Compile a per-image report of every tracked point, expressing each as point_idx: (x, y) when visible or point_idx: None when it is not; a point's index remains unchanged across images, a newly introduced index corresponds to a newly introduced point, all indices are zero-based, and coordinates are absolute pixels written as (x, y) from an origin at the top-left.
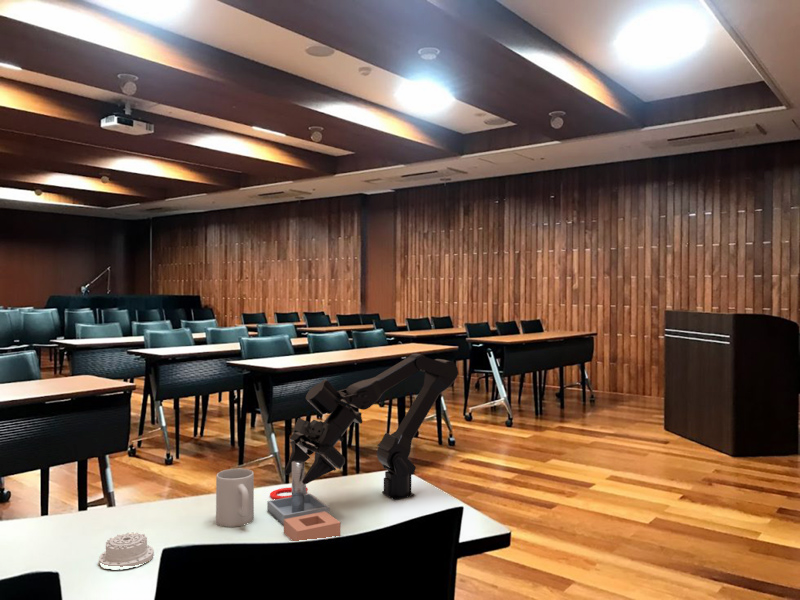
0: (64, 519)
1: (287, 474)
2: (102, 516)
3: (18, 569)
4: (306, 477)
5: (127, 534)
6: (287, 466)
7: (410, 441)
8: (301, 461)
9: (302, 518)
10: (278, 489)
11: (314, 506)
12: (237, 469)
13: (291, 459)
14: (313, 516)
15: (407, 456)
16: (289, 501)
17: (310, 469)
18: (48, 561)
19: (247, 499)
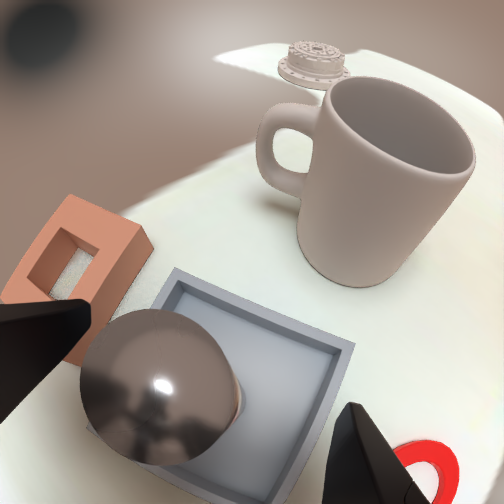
0: (492, 128)
1: (336, 421)
2: (491, 146)
3: (367, 52)
4: (49, 302)
5: (335, 55)
6: (365, 431)
7: None
8: (128, 424)
9: (91, 263)
10: (454, 490)
11: (207, 478)
12: (468, 166)
13: (376, 482)
14: (69, 296)
15: None
16: (306, 431)
17: (4, 312)
18: (371, 61)
19: (257, 132)
